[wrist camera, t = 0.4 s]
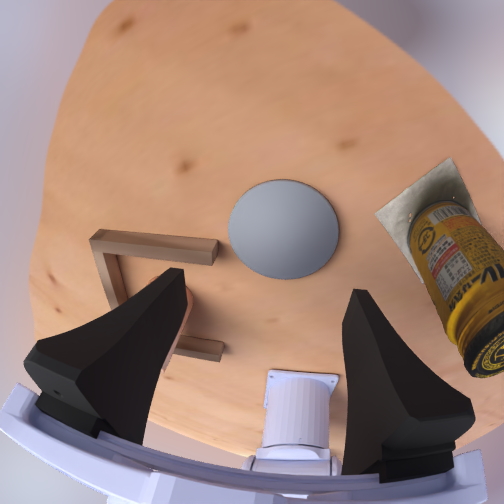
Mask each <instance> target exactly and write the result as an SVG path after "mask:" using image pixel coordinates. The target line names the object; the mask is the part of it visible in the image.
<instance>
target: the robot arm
mask: <svg viewBox="0 0 504 504" xmlns="http://www.w3.org/2000/svg"><path fill="white" fill-rule="evenodd" d="M187 306H188V300H187V293H186V285H185V277H184V269H178V268H169V269H168V270H166V271H165V272H164V273H163V274H161V275H160V276H159V277H157V278H156V279H155V280H154V281H152V282H151V283H150V284H149V285H147V286H146V287H145V288H143V289H142V290H141V291H139V292H138V293H137V294H135V295H134V296H132V297H131V298H130V299H128V300H127V301H125V302H124V303H122V304H121V305H119V306H118V307H116V308H115V309H113V310H111V311H110V312H108V313H106V314H105V315H103V316H101V317H99V318H97V319H95V320H93V321H91V322H89V323H87V324H85V325H82V326H80V327H78V328H75V329H73V330H70V331H67V332H65V333H62V334H59V335H55V336H52V337H48V338H45V339H41V340H38V341H37V343H36V344H35V346H34V347H33V348H32V350H31V351H30V353H29V354H28V356H27V357H26V359H25V360H24V367H25V369H26V371H27V372H28V374H29V375H30V377H31V378H32V379H33V380H34V382H35V383H36V384H37V385H38V387H39V388H40V389H41V390H42V393H41V395H40V396H39V395H37V394H36V393H35V392H33V391H32V390H30V389H28V388H27V387H25V386H23V385H21V384H20V383H17V384H16V385H15V387H14V389H13V390H12V392H11V394H10V395H9V397H8V399H7V401H6V402H5V404H4V405H3V407H2V409H1V411H0V430H1V431H2V432H3V433H5V434H6V435H7V436H8V437H10V438H11V439H12V440H13V441H15V442H16V443H17V444H19V445H20V446H21V447H23V448H24V449H26V450H27V451H28V452H30V453H31V454H33V455H34V456H36V457H38V458H39V459H40V460H42V461H43V462H45V463H47V464H48V465H50V466H51V467H53V468H55V469H56V470H58V471H60V472H61V473H63V474H65V475H67V476H69V477H70V478H72V479H74V480H76V481H78V482H80V483H81V484H83V485H85V486H87V487H89V488H91V489H93V490H96V491H98V492H100V493H102V494H104V495H107V496H109V497H108V500H107V502H106V504H481V503H483V502H485V501H487V499H488V498H487V488H486V480H485V473H484V467H483V460H482V455H481V450H480V449H477V450H474V451H470V452H466V453H462V454H460V455H457V456H455V457H453V454H452V451H453V450H455V448H456V446H455V440H456V439H458V438H459V437H460V436H462V435H463V434H464V433H465V432H467V431H468V430H469V429H470V428H471V427H472V425H473V424H474V422H475V414H474V410H473V407H472V403H471V400H470V398H468V397H466V396H465V395H463V394H462V393H460V392H459V391H457V390H456V389H454V388H453V387H451V386H450V385H449V384H448V383H446V382H445V381H444V380H442V379H441V378H440V377H439V376H437V375H436V374H435V373H434V372H433V371H432V370H431V369H430V368H429V367H427V366H426V365H425V364H424V363H423V362H422V361H421V360H420V359H419V358H418V357H417V356H416V355H415V354H414V352H413V351H412V350H411V349H410V348H409V347H408V346H407V345H406V343H405V342H404V341H403V340H402V339H401V337H400V336H399V335H398V334H397V332H396V331H395V330H394V328H393V327H392V326H391V324H390V323H389V321H388V320H387V319H386V317H385V316H384V314H383V313H382V311H381V310H380V308H379V307H378V306H377V304H376V303H375V301H374V300H373V298H372V297H371V295H370V294H369V292H368V291H367V290H361V289H353V292H352V295H351V298H350V301H349V304H348V307H347V310H346V313H345V316H344V319H343V322H342V345H343V353H344V362H345V370H346V379H347V388H348V413H347V430H346V441H345V451H344V458H343V465H342V463H341V461H340V460H339V459H338V458H337V456H331V459H330V449H329V398H330V396H331V394H332V392H333V390H334V388H335V386H336V384H337V382H338V379H339V376H338V375H335V374H318V373H304V372H292V371H282V370H269V371H268V378H267V386H266V394H265V401H264V408H265V409H267V411H266V418H265V425H264V432H263V438H262V445H261V448H257V452H256V455H251V456H249V457H248V458H247V459H246V460H245V461H244V463H243V465H242V467H241V469H237V468H230V467H224V466H219V465H214V464H209V463H204V462H200V461H195V460H191V459H186V458H183V457H179V456H175V455H171V454H168V453H164V452H160V451H157V450H154V449H151V448H147V447H144V446H142V444H143V438H144V433H145V428H146V423H147V418H148V414H149V410H150V406H151V402H152V398H153V395H154V391H155V388H156V384H157V381H158V378H159V375H160V372H161V369H162V367H163V364H164V362H165V360H166V357H167V355H168V353H169V351H170V349H171V347H172V345H173V342H174V340H175V338H176V336H177V334H178V332H179V329H180V327H181V325H182V322H183V319H184V316H185V313H186V310H187ZM150 468H151V469H150ZM153 469H154V470H158V471H153Z"/></svg>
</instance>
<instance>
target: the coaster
mask: <svg viewBox="0 0 504 504" xmlns="http://www.w3.org/2000/svg"><path fill="white" fill-rule="evenodd" d="M228 234H229V239H230V243H231V246H232V248H233V250H234V252H235V254H236V255H237V256H238V258H239V259H240V260H241V261H242V262H243V263H244V264H245V265H246V266H247V267H248V268H250V269H251V270H253V271H255V272H257V273H259V274H261V275H263V276H266V277H270V278H274V279H285V280H286V279H296V278H301V277H304V276H307V275H309V274H312V273H313V272H315V271H317V270H318V269H320V268H321V267H322V266H323V265H324V264H326V263H327V261H328V260H329V259H330V258H331V256H332V254H333V253H334V251H335V248H336V246H337V242H338V235H339V231H338V223H337V218H336V215H335V212H334V210H333V208H332V206H331V205H330V203H329V202H328V200H327V199H326V198H325V197H324V196H323V195H322V194H321V193H320V192H318V191H317V190H316V189H314V188H313V187H311V186H309V185H307V184H304V183H302V182H298V181H294V180H288V179H277V180H270V181H266V182H263V183H260V184H258V185H256V186H254V187H252V188H251V189H249V190H248V191H247V192H245V193H244V194H243V195H242V196H241V198H240V199H239V200H238V201H237V203H236V205H235V207H234V208H233V211H232V213H231V216H230V219H229V225H228Z"/></svg>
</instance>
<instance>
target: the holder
mask: <svg viewBox="0 0 504 504" xmlns="http://www.w3.org/2000/svg"><path fill="white" fill-rule="evenodd" d="M89 241H90V245H91V249H92V252H93V256H94V259H95V262H96V266H97V269H98V272H99V275H100V279H101V282H102V285H103V288H104V291H105V293H106V296H107V299H108V302H109V305H110V308H111V310H113V309H115V308H116V307H118V306H119V305H121V304H122V303H124V302H125V301H127V300H128V297H127V294H126V291H125V287H124V284H123V280H122V277H121V273H120V269H119V266H118V262H117V258H116V254H118V255H126V256H134V257H142V258H150V259H158V260H167V261H175V262H183V263H192V264H201V265H209V266H212V265H213V263H214V261H215V259H216V256H217V254H218V241H217V240H213V239H203V238H192V237H181V236H170V235H159V234H148V233H137V232H125V231H114V230H102V229H99V230H98V231H97V232H96V233H95V234H94V235H93V236H92V237H91V238H90V239H89ZM222 353H223V342H219V341H212V340H206V339H200V338H194V337H188V336H183V335H180V337H179V340H178V342H177V345H176V347H175V349H174V352H173V354H177V355H182V356H187V357H192V358H198V359H203V360H209V361H215V362H220V360H221V356H222Z"/></svg>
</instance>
